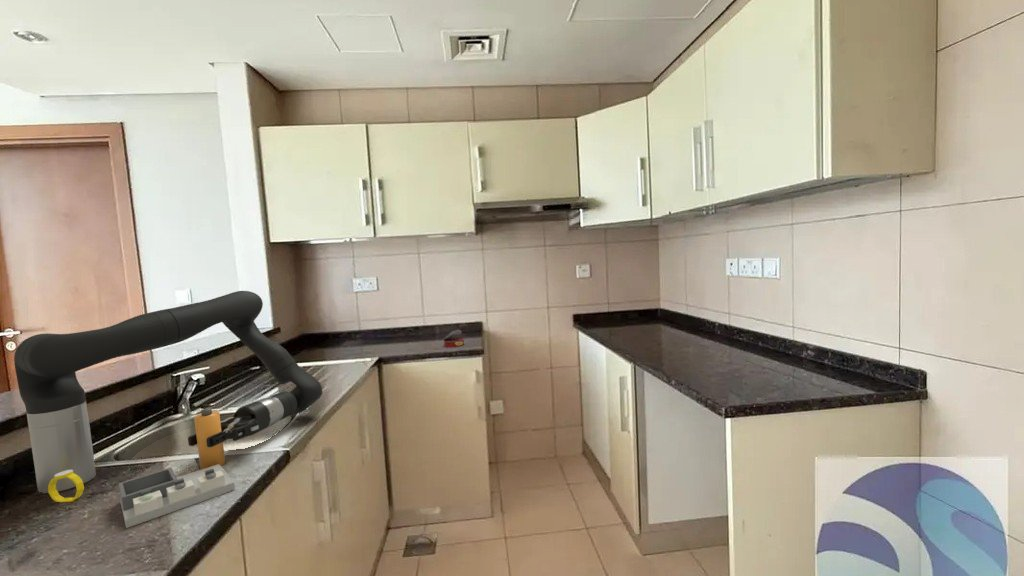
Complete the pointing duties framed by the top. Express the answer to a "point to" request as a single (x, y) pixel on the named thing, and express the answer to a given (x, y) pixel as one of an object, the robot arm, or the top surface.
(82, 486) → the watch
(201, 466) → the orange thermos flask
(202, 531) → the top surface
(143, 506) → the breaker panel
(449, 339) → the canned food
